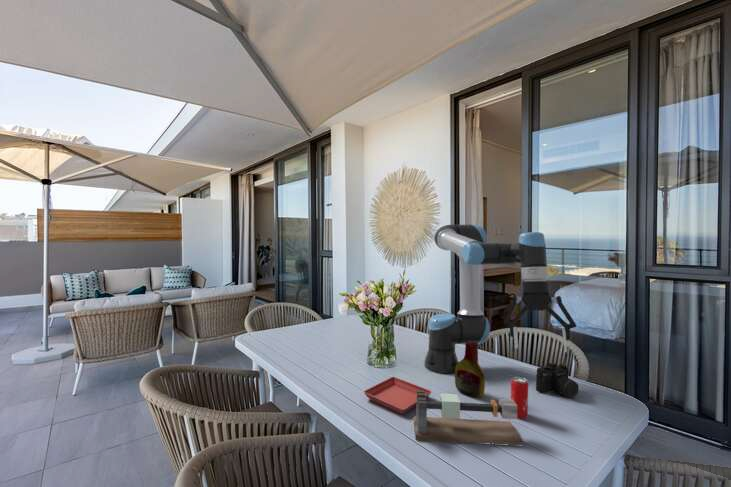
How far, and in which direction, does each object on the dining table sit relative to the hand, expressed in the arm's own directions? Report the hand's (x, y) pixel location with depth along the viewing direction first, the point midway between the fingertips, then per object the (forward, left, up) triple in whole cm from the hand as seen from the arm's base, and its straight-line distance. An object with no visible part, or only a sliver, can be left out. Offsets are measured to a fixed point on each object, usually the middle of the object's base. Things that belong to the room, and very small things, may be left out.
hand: (540, 349), depth 105 cm
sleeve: (+6, -28, -19) cm, 34 cm away
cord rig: (+6, -24, -24) cm, 34 cm away
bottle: (-20, -17, -24) cm, 36 cm away
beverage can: (-6, -4, -24) cm, 25 cm away
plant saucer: (-13, -44, -25) cm, 52 cm away
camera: (-24, +17, -25) cm, 39 cm away
